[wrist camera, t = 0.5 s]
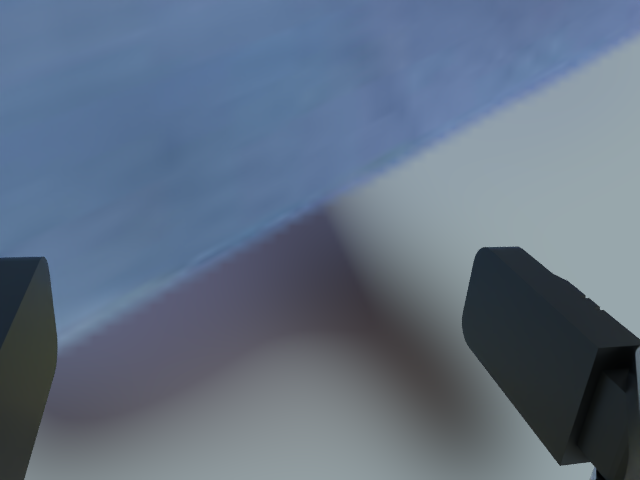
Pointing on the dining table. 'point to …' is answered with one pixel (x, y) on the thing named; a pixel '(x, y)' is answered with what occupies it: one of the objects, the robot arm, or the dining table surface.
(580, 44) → the dining table surface
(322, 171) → the dining table surface
